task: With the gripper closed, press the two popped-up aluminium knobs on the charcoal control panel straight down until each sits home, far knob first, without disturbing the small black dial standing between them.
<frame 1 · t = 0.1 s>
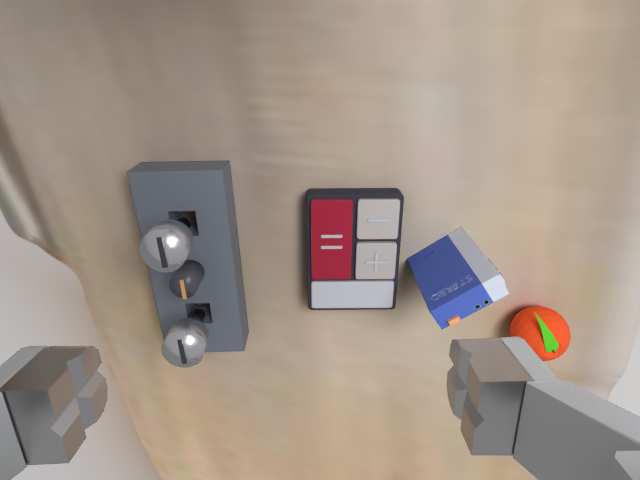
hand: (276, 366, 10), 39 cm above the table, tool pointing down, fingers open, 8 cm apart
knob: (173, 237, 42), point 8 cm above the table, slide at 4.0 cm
calculator: (351, 243, 52), on the table
clementine: (525, 313, 56), on the table
walkman: (437, 249, 52), on the table
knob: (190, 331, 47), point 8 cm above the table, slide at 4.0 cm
panel: (200, 255, 52), on the table
dial: (191, 271, 48), point 4 cm above the table, touching panel
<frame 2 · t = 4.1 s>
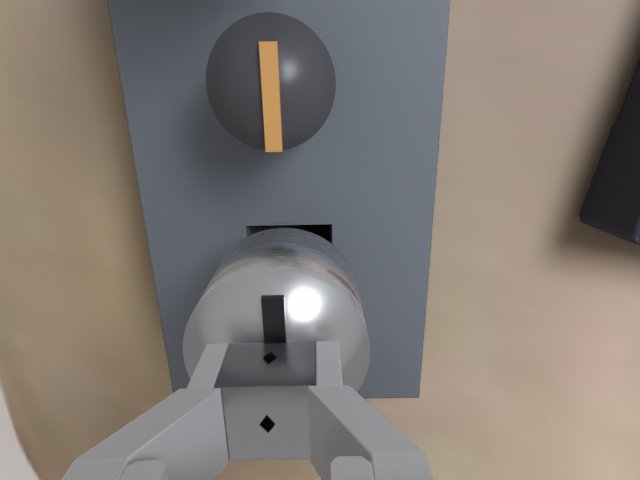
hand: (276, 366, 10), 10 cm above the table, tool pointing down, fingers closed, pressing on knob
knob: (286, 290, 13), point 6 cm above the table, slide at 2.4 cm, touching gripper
panel: (290, 88, 17), on the table
dial: (282, 87, 13), point 4 cm above the table, touching panel
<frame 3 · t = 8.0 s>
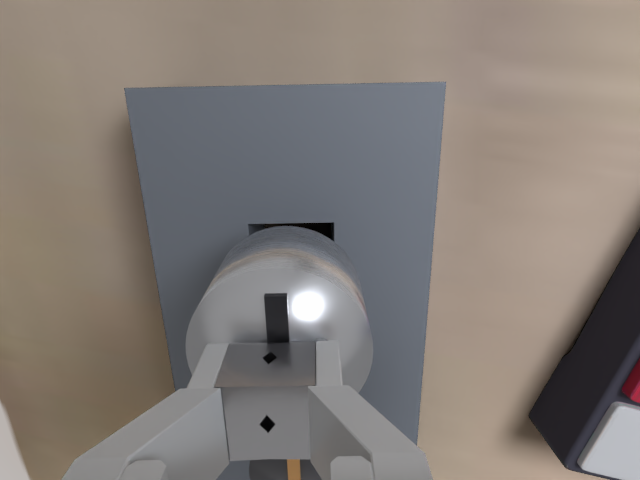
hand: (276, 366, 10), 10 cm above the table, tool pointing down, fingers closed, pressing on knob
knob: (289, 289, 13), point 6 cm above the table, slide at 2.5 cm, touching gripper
panel: (302, 341, 21), on the table
dial: (298, 397, 17), point 4 cm above the table, touching panel
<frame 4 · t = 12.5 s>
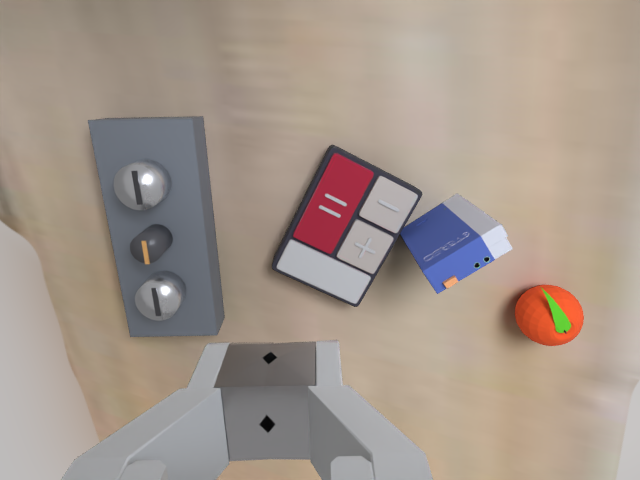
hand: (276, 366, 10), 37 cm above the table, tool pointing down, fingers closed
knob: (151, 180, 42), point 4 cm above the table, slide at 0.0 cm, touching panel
calculator: (343, 222, 48), on the table
clementine: (531, 296, 51), on the table
walkman: (432, 221, 47), on the table
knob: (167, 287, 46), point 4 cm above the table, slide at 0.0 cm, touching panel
panel: (171, 226, 47), on the table
dial: (158, 237, 43), point 4 cm above the table, touching panel
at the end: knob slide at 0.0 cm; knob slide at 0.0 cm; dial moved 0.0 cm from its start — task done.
